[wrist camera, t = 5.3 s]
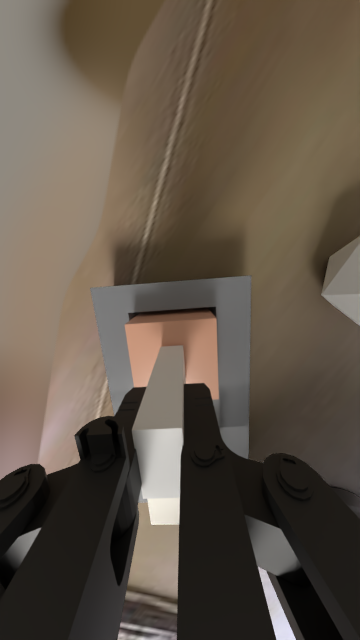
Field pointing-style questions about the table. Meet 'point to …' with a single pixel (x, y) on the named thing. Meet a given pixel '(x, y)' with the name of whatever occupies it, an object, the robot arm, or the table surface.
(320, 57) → the table surface
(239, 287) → the key box
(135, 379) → the terracotta key
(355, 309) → the die
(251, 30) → the table surface
